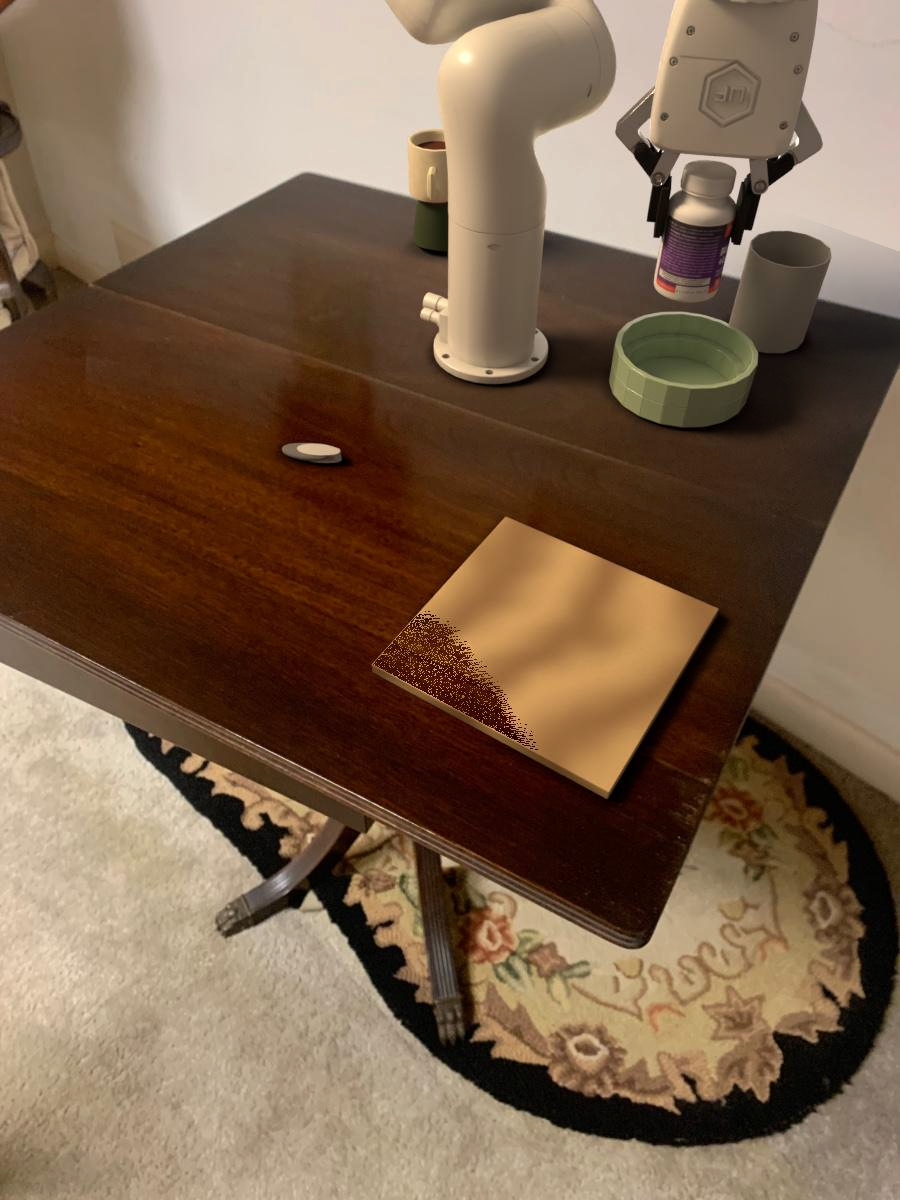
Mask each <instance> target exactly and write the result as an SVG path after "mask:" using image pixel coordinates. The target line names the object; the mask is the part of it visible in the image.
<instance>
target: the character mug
mask: <svg viewBox="0 0 900 1200" xmlns="http://www.w3.org/2000/svg"><path fill="white" fill-rule="evenodd" d="M407 157H408V158H407V164H408V165H407V168H408V169H407V170H408V190H409V195H410V196H411V197H412V198H414V200H417V203H416V206H415V216H414V223H413V234H412V242H413V243H414V245H416V246H417V247H420V248H421V249H427V250H431V251H439V252H448V225H449V214H448V167H447V154H446V144H445V138H444V132H443V128H428V129H422V130H418V131H416V132H414V133H411V134H410V135H409V136H408V137H407Z"/></svg>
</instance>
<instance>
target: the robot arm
mask: <svg viewBox="0 0 900 1200" xmlns="http://www.w3.org/2000/svg"><path fill="white" fill-rule="evenodd" d="M384 1H385V3H386V5H387V6H388V8H389V9H390V10H391V12H392V13H393V15H394V16H395V17H396V20H398V22H399V23H400V24H401V25H402V27H403V28H404V29H405V31H406V32H407V33H408V34H409V35H410V36H411V37H412V38H413V39H414V40H416V41H417V42H419V43H422V44H425V45H429V46H436V45H445V44H450V43H452V44H451V46H450V47H449V48H448V49H447V51H446V52H445V54H444V56H443V57H442V60H441V63H440V66H439V69H438V72H437V79H436V92H437V93H436V94H437V103H438V104H437V105H438V109H439V115H440V121H441V126H442V129H443V132H444V138H445V144H446V154H447V167H448V214H449V225H448V251H447V258H448V259H447V262H448V263H447V298H445V296H442V295H439V294H436V293H433V292H430V291H429V292H427V293H426V294H425V295H424V297H423V300H422V309H421V310H420V314H419V317H420V320H422V321H424V322H427V323H430V324H435V325H436V326H437V328H438V332H437V333H436V335H435V337H434V339H433V356H434V359H435V361H436V363H437V364H438V365H439V367H440V368H442V369H443V370H444V371H446V373H448V374H450V375H452V376H453V377H456V378H458V379H461V380H463V381H467V382H471V383H476V384H481V385H482V384H484V385H502V384H511V383H515V382H519V381H522V380H525V379H527V378H530V377H531V376H533V375H534V374H536V373H538V371H540V370H541V369H542V368H543V367H544V365H545V364H546V362H547V359H548V356H549V355H548V354H549V343H548V340H547V338H546V336H545V335H544V334H543V332H541V330H539V329H538V328H537V320H538V307H539V298H540V285H541V275H542V263H543V262H542V261H543V252H544V251H543V250H544V237H545V230H546V229H545V227H546V215H547V214H546V212H547V201H548V200H547V198H548V190H547V182H546V177H545V173H544V171H543V168H542V165H541V163H540V161H539V158H538V156H537V153H536V149H535V147H536V146H535V143H536V140H537V138H539V137H540V136H543V135H545V134H547V133H549V132H551V131H554V130H556V129H559V128H562V127H565V126H567V125H569V124H572V123H575V122H577V121H579V120H582V119H585V118H586V117H589V116H590V115H592V114H593V113H594V112H596V111H598V109H600V108H601V107H602V106H603V105H604V104H605V103H606V102H607V100H608V98H609V97H610V95H611V93H612V92H613V89H614V87H615V83H616V79H617V73H618V55H617V49H616V44H615V40H614V37H613V34H612V31H611V29H610V27H609V24H608V23H607V20H606V18H605V17H604V15H603V13H602V11H601V10H600V8H599V6H598V5H597V4H596V2H595V0H384ZM672 7H673V8H672V11H671V15H670V18H669V23H668V27H667V32H666V35H665V38H664V42H663V46H662V50H661V55H660V59H659V60H660V61H659V64H658V70H657V75H656V81H655V84H654V85H653V86H652V87H651V88H650V89H649V90H648V91H647V92H646V93H645V94H644V95H643V96H641V98H640V99H638V101H636V103H634V105H633V106H632V107H630V108H629V110H628V111H627V112H625V114H623V116H621V117H620V118H619V119H618V121H617V122H616V125H615V130H614V134H615V136H616V138H617V139H618V140H619V141H620V142H621V143H622V145H623V146H625V148H626V149H627V150H628V151H629V152H630V153H631V154H632V155H633V157H634V159H635V160H636V162H637V163H638V164H639V166H640V167H641V168H642V170H643V171H644V173H645V174H646V175H647V176H648V178H649V179H650V183H651V185H652V186H651V191H650V196H649V203H648V209H647V215H646V223H654V224H653V237H652V238H653V239H661V237H663V231H664V226H665V221H666V215H667V210H668V204H669V199H670V198H671V192H672V184H673V183H672V182H673V181H672V180H673V176H672V175H671V172H672V171H673V168H674V166H675V165H676V163H677V161H678V159H679V157H680V156H681V154H682V155H694V156H704V157H705V156H706V157H719V158H731V159H732V158H733V159H744V160H745V159H748V165H749V172H748V173H747V174H746V176H745V177H744V179H743V180H742V181H741V182H740V185H739V190H738V194H737V198H736V201H735V203H736V206H737V212H736V218H735V222H734V226H733V230H732V234H731V238H730V243H732V244H733V246H741V245H742V241H743V238H744V232H745V231H748V232H749V231H750V232H752V231H753V227H754V225H755V221H756V217H757V213H758V208H759V205H760V201H761V198H762V195H763V194H765V193H766V192H767V191H768V190H769V187H770V186H772V185H773V184H774V183H776V182H777V181H779V180H780V179H781V178H783V177H784V176H785V175H787V174H788V173H790V172H791V171H792V170H793V169H794V167H796V166H797V165H800V164H802V163H803V162H804V161H807V160H808V159H809V158H811V157H812V156H814V155H816V154H817V153H818V152H820V151H821V150H822V148H823V145H824V144H823V138H822V135H821V133H820V131H819V128H818V127H817V125H816V124H815V122H814V120H813V118H812V116H811V114H810V112H809V110H808V108H807V107H806V105H805V103H804V101H803V97H804V91H805V87H806V82H807V78H808V73H809V69H810V68H809V67H810V62H811V58H812V52H813V46H814V42H815V41H814V40H815V35H816V27H817V19H818V9H819V0H675V1H674V5H673V6H672ZM648 120H649V138H647V137H646V136H645V135H644V134H643V132H642V130H641V129H640V128H641V127H642V125H644V124H645V123H647V121H648ZM794 134H796V136H797V137H796V140H794V141H793V142H792V140H793V137H794Z"/></svg>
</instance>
